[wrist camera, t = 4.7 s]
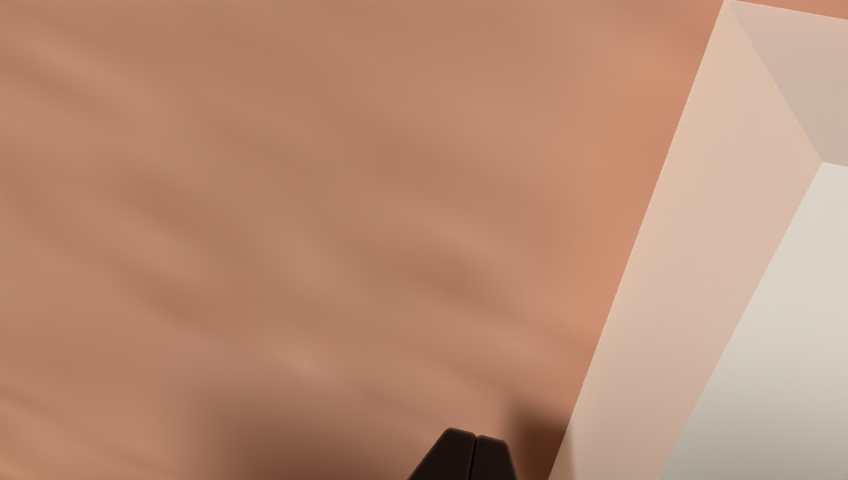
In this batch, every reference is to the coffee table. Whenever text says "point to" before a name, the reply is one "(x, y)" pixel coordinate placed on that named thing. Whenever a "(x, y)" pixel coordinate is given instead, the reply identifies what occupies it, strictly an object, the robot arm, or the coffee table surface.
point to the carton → (735, 276)
